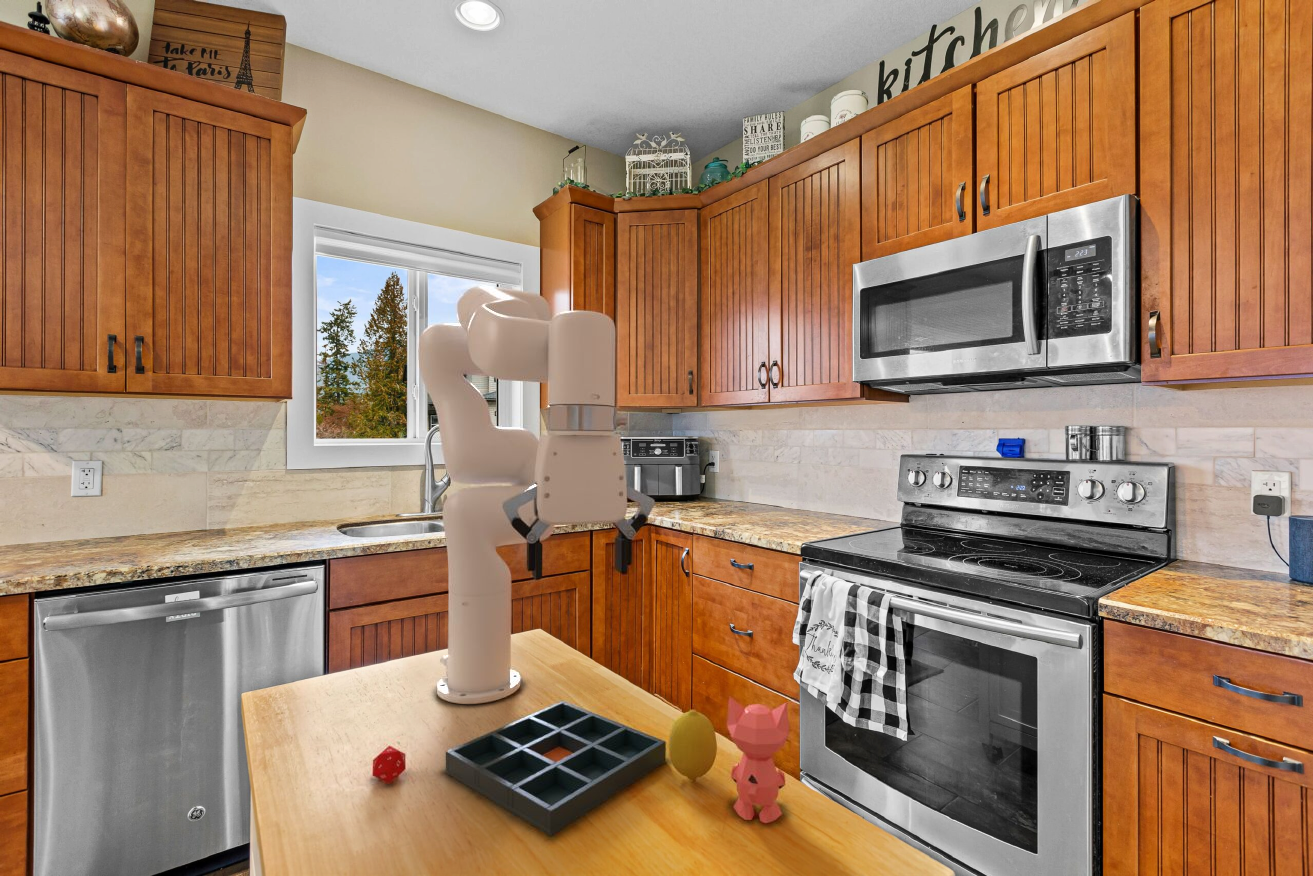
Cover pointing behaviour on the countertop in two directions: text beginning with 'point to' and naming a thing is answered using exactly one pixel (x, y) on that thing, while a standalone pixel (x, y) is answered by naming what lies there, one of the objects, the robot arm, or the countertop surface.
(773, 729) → the cat figurine
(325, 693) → the countertop surface
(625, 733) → the grid
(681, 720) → the lemon
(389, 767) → the die
